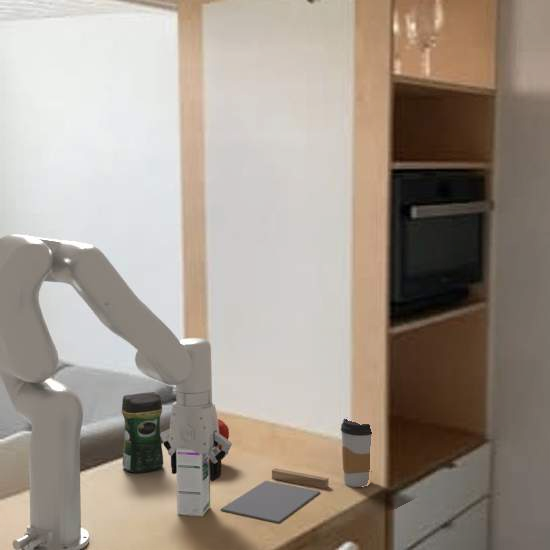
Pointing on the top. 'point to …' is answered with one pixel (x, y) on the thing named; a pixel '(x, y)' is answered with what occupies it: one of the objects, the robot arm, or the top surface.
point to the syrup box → (192, 482)
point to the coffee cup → (356, 453)
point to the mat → (271, 501)
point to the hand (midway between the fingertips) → (196, 475)
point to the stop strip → (300, 478)
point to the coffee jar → (142, 432)
